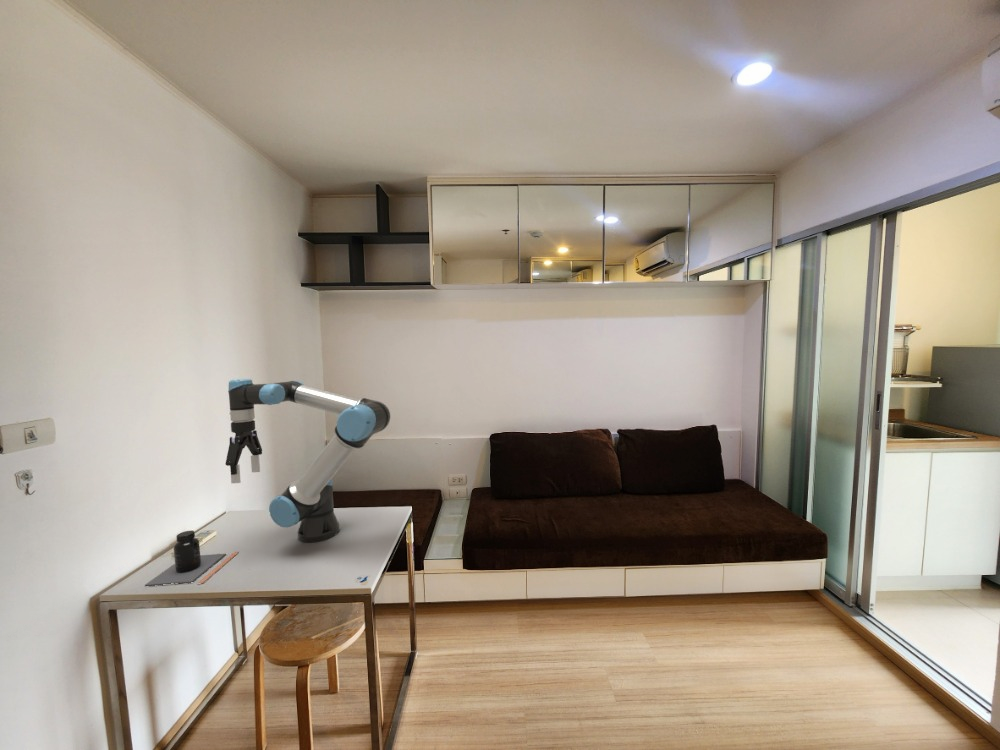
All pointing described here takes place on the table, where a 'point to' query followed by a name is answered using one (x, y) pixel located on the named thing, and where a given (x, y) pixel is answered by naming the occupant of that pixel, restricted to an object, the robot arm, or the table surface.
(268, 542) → the table surface
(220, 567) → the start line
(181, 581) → the mat
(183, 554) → the supplement bottle
